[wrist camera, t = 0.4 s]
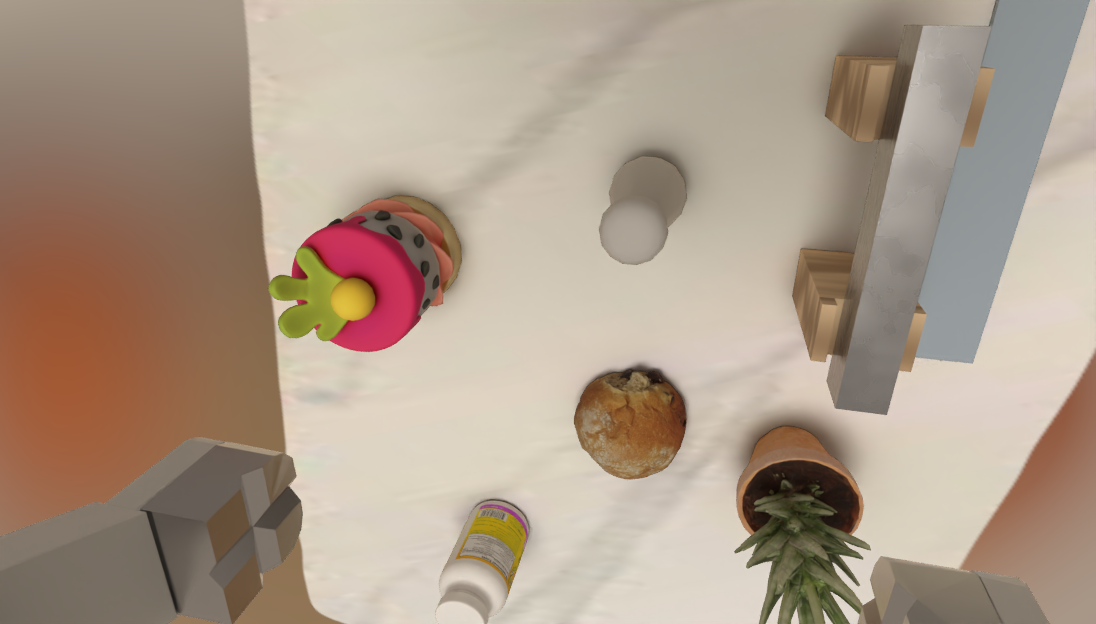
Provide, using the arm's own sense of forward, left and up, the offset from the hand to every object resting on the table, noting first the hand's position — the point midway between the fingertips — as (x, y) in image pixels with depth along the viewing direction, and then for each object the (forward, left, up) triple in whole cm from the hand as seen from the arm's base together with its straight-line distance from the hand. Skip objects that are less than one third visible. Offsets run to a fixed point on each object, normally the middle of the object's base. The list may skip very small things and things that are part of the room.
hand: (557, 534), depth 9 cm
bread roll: (+26, -2, -45) cm, 52 cm away
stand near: (-3, +13, -45) cm, 46 cm away
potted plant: (+28, +12, -45) cm, 54 cm away
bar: (+4, +13, -35) cm, 37 cm away
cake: (+12, -23, -45) cm, 52 cm away
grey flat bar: (+4, +21, -45) cm, 50 cm away
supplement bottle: (+42, -15, -45) cm, 64 cm away
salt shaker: (+5, -2, -45) cm, 45 cm away
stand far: (+11, +13, -45) cm, 48 cm away
